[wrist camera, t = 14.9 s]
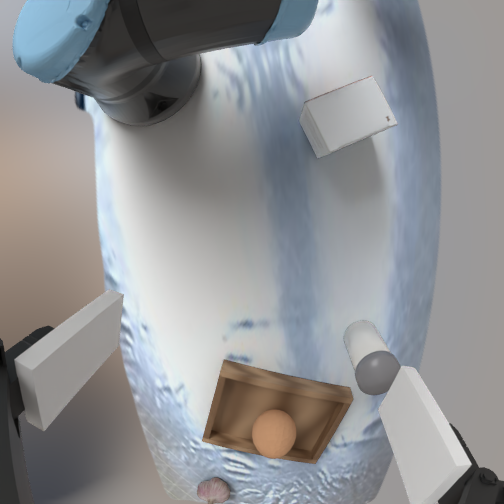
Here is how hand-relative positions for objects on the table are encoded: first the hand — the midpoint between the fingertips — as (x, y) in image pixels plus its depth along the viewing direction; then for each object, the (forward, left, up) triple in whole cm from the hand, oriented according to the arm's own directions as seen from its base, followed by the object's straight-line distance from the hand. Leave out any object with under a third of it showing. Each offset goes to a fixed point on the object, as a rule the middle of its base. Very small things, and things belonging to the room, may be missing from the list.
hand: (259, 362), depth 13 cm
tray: (+8, -27, -29) cm, 40 cm away
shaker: (+16, -10, -29) cm, 34 cm away
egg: (+8, -27, -28) cm, 40 cm away
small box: (+4, +16, -29) cm, 33 cm away
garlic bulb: (+3, -52, -29) cm, 60 cm away
